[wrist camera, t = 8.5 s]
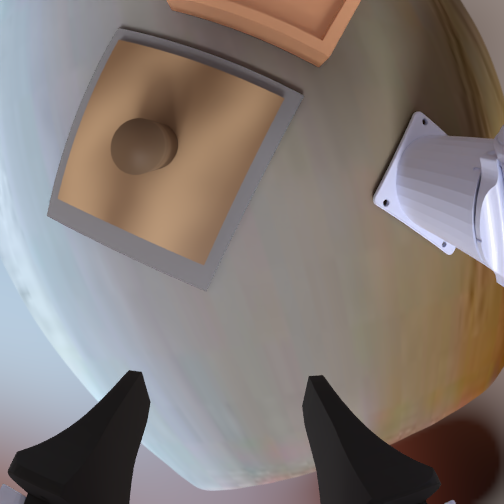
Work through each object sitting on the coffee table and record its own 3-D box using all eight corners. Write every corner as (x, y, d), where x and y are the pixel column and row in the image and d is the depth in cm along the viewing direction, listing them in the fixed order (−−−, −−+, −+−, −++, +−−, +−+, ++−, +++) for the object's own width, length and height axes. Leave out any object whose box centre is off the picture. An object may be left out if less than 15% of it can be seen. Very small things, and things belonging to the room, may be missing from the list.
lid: (283, 99, 17) (294, 87, 13) (204, 262, 20) (196, 289, 16) (121, 42, 14) (96, 23, 11) (61, 197, 18) (29, 209, 14)
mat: (302, 96, 17) (304, 95, 16) (206, 288, 21) (206, 291, 21) (120, 29, 14) (118, 27, 14) (49, 214, 19) (47, 215, 18)
